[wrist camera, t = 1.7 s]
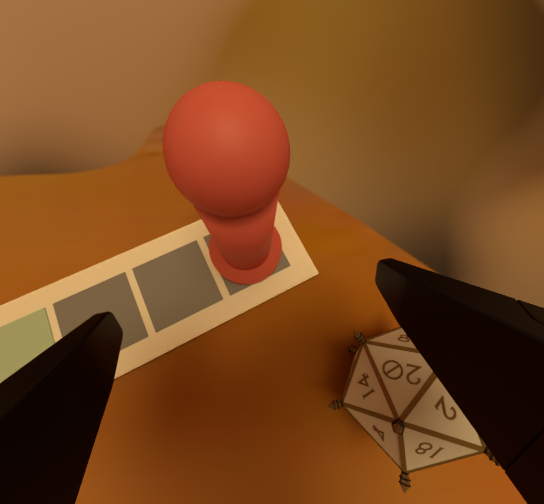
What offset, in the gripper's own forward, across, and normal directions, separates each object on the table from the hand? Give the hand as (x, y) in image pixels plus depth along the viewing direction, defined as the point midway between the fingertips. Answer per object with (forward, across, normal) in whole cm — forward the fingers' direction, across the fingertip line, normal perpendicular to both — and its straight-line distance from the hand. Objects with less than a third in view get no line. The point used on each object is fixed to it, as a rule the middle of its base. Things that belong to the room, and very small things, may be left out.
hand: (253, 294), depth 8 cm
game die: (+4, -8, +13) cm, 16 cm away
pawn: (+11, 0, +4) cm, 12 cm away
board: (+10, +9, +7) cm, 15 cm away
